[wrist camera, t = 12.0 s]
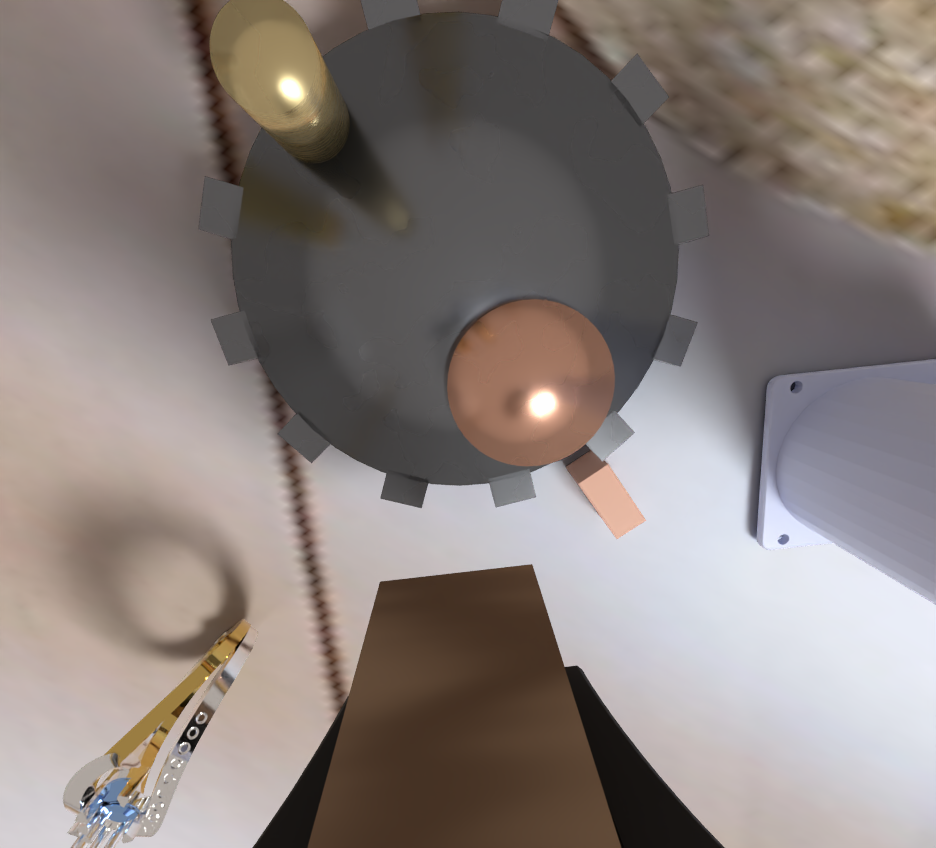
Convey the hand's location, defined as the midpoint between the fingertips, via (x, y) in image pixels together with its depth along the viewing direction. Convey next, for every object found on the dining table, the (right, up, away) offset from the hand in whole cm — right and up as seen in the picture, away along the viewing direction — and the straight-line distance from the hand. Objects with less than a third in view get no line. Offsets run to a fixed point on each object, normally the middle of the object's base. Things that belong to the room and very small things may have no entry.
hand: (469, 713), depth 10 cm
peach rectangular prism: (+6, +4, +9) cm, 12 cm away
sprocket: (0, +12, +7) cm, 14 cm away
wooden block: (0, 0, +2) cm, 2 cm away
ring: (-11, -3, +11) cm, 16 cm away
